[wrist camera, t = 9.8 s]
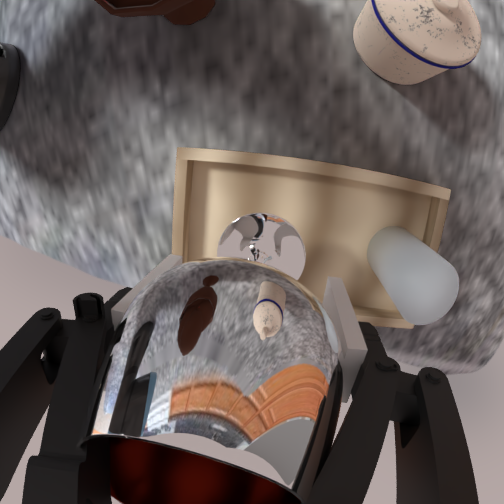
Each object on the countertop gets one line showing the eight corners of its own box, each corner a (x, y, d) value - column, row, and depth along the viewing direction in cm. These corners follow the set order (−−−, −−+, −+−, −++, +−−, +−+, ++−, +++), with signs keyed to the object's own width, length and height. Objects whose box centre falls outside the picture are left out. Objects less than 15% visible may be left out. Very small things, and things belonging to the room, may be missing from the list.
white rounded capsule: (361, 273, 28) (388, 323, 19) (372, 221, 26) (408, 254, 17) (407, 279, 27) (445, 326, 19) (420, 230, 26) (467, 263, 17)
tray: (181, 285, 31) (171, 298, 29) (188, 147, 27) (177, 147, 24) (403, 314, 30) (412, 328, 27) (436, 185, 25) (451, 189, 22)
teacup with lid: (441, 93, 22) (513, 73, 11) (355, 83, 23) (397, 43, 12) (421, -6, 18) (469, -56, 7) (339, -19, 20) (359, -87, 9)
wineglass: (314, 307, 23) (330, 550, 6) (209, 304, 24) (103, 513, 7) (319, 200, 20) (425, 402, 3) (201, 200, 21) (-15, 343, 4)
